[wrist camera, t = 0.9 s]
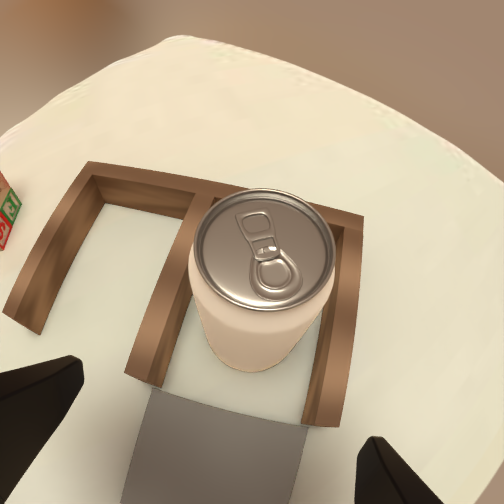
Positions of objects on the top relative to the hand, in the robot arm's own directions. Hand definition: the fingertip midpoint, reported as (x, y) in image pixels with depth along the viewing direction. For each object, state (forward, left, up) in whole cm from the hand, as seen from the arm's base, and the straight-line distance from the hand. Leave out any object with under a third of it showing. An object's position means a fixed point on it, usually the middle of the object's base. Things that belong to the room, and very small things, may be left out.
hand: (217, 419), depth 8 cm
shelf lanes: (+10, -1, -13) cm, 17 cm away
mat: (-3, +3, -13) cm, 14 cm away
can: (+5, -4, -13) cm, 15 cm away
